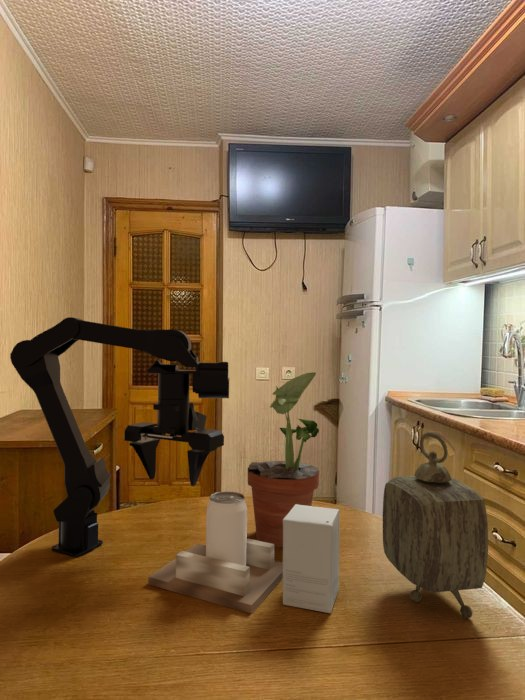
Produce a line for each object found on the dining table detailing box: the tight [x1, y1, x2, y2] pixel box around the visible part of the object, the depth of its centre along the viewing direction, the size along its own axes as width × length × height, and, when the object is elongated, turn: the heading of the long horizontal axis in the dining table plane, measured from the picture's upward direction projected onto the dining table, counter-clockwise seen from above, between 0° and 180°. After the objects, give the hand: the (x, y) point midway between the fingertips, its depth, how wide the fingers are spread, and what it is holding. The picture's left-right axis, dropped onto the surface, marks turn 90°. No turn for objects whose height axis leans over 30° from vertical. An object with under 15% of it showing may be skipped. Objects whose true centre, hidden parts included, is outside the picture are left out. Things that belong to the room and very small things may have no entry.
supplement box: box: [282, 504, 340, 614], centre depth 71 cm, size 7×7×13 cm
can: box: [205, 491, 248, 566], centre depth 76 cm, size 6×6×12 cm
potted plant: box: [247, 372, 320, 547], centre depth 95 cm, size 16×15×35 cm
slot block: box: [147, 538, 283, 615], centre depth 77 cm, size 18×14×5 cm
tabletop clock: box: [382, 431, 489, 619], centre depth 71 cm, size 14×9×25 cm, turn 12°
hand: (172, 482), depth 88 cm, fingers open, 9 cm apart
